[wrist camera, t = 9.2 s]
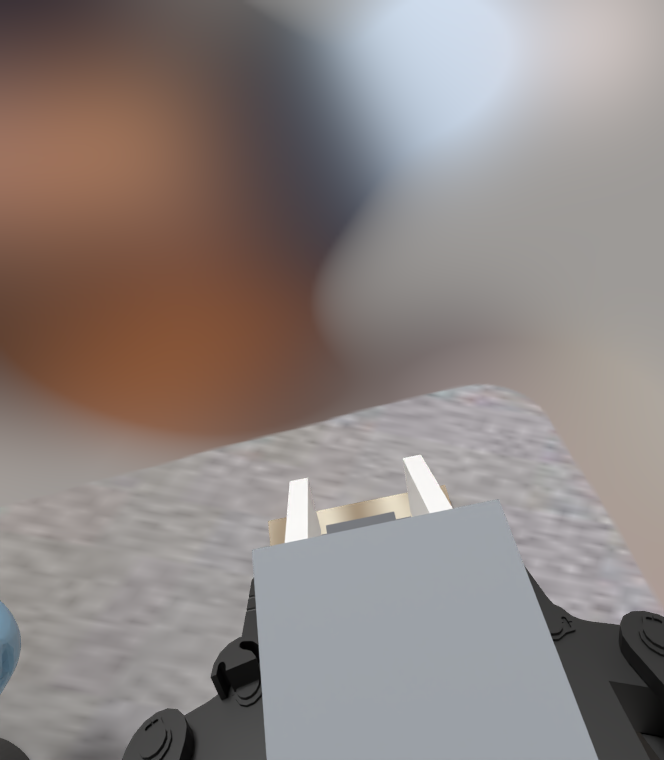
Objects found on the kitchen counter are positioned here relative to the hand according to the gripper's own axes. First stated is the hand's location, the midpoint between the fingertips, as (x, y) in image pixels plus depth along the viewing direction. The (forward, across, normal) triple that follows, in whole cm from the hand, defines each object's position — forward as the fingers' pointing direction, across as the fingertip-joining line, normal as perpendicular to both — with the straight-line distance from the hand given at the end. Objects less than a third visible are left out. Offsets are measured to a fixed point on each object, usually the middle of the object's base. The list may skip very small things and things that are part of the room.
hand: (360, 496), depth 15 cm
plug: (0, 0, -6) cm, 6 cm away
